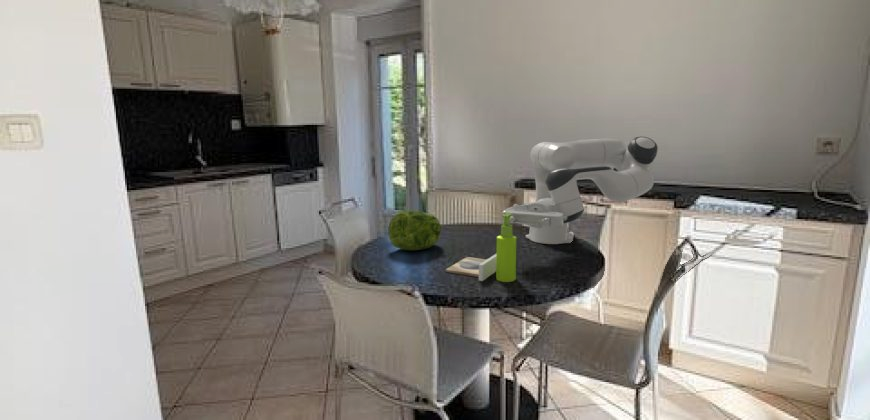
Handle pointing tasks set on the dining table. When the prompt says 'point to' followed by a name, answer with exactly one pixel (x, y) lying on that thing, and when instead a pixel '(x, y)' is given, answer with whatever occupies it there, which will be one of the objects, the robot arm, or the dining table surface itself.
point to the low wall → (487, 268)
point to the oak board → (466, 266)
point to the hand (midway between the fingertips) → (525, 221)
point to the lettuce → (414, 230)
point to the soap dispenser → (506, 252)
